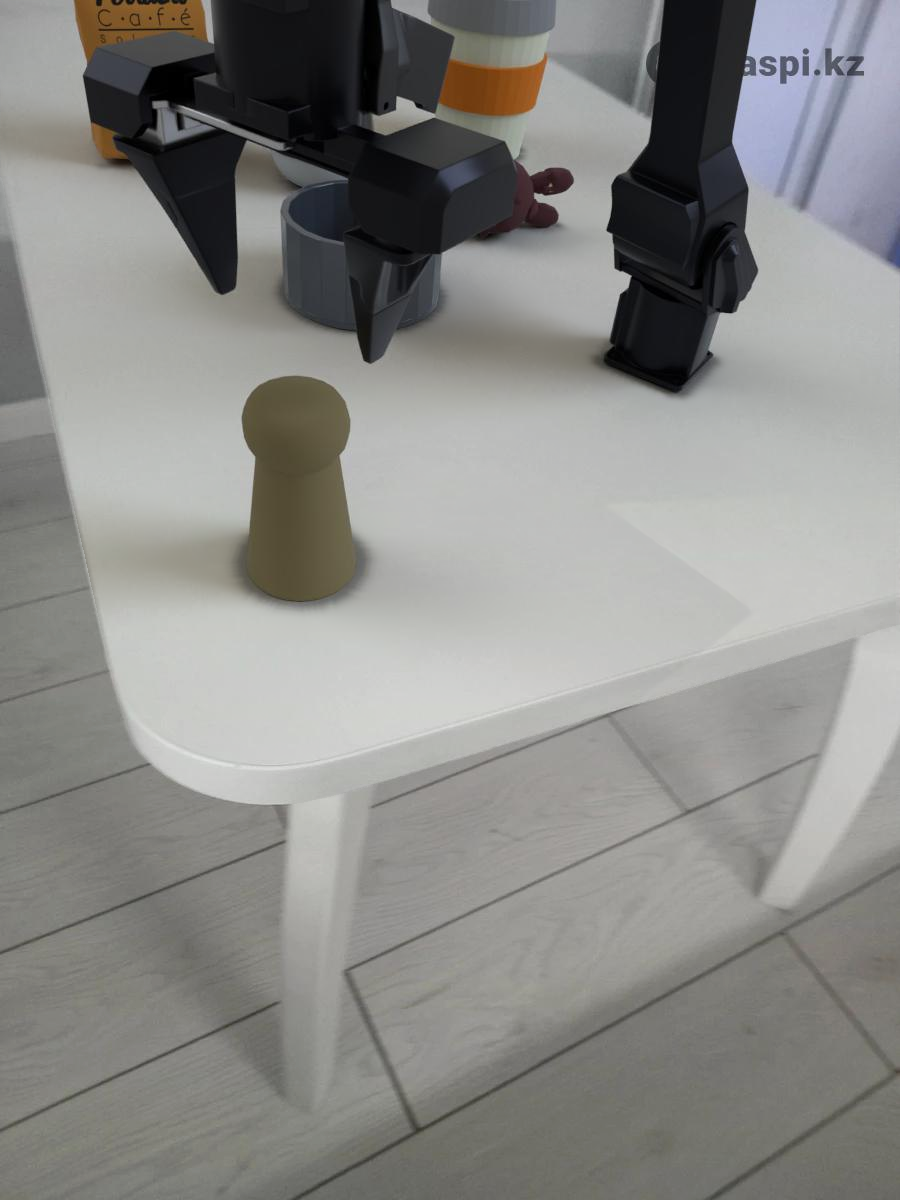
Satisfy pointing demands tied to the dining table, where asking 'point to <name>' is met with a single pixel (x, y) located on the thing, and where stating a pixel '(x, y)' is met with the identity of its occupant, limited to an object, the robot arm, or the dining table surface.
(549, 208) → the icecream
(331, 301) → the bowl
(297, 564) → the olive pawn
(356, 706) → the dining table surface
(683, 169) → the robot arm
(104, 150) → the coffee package
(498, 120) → the reusable coffee cup
